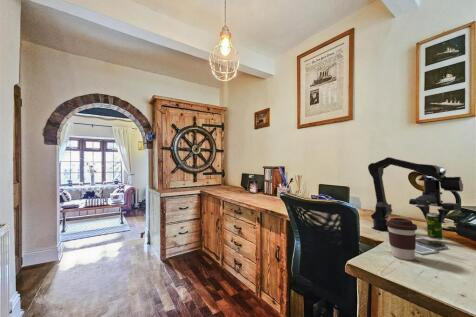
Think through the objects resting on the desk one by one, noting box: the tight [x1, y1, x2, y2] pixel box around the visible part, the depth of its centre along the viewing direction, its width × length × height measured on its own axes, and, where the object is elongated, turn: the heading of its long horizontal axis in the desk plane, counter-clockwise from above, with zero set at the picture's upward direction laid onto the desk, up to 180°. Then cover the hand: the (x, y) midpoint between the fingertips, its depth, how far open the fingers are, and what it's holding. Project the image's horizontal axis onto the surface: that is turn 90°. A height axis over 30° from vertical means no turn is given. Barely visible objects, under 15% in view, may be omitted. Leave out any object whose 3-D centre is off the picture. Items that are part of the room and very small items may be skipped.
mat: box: [415, 244, 440, 256], centre depth 90 cm, size 10×10×1 cm
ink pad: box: [416, 238, 449, 251], centre depth 94 cm, size 10×8×2 cm
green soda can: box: [426, 212, 444, 241], centre depth 100 cm, size 5×5×12 cm
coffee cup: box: [386, 217, 418, 261], centre depth 83 cm, size 10×10×15 cm
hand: (434, 221), depth 100 cm, fingers closed on green soda can, 5 cm apart
